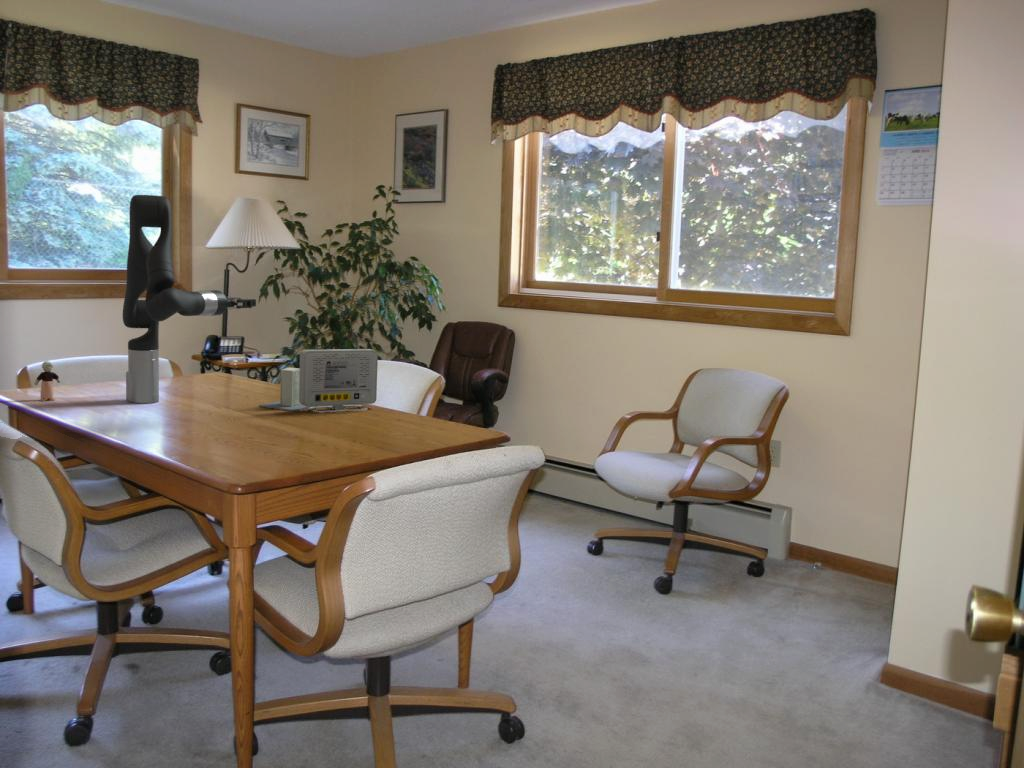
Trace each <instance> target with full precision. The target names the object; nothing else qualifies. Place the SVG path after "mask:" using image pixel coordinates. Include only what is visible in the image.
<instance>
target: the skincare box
mask: <svg viewBox="0 0 1024 768" xmlns="http://www.w3.org/2000/svg"><path fill="white" fill-rule="evenodd" d="M299 375H300V367H299V368H298V367H297V368H296V367H286V368H282V369H280V388H279V389H280V390H279V391H280V392H279V401H280V405H281V406H291V407H292V406H295V405H297V404H299V403H300V402H299Z"/></svg>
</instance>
